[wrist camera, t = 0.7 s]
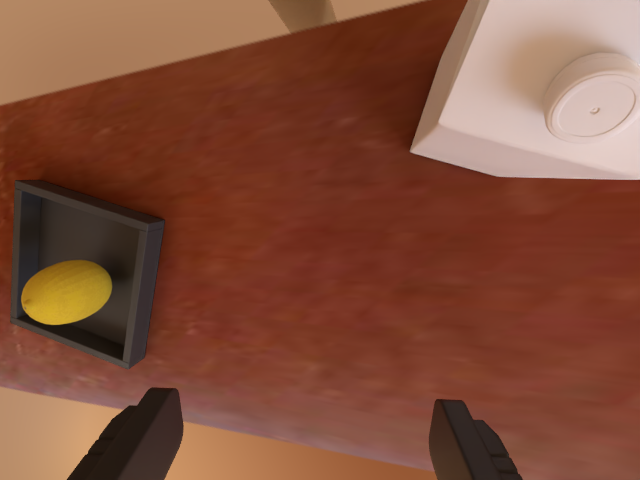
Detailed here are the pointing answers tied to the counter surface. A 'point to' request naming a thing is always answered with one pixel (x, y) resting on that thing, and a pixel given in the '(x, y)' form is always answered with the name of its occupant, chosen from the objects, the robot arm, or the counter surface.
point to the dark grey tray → (91, 245)
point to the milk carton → (538, 91)
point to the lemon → (66, 292)
